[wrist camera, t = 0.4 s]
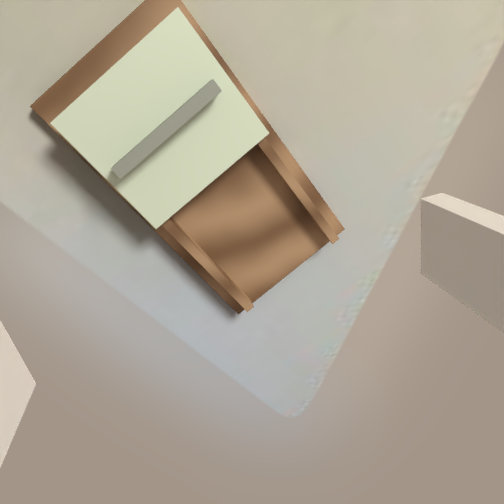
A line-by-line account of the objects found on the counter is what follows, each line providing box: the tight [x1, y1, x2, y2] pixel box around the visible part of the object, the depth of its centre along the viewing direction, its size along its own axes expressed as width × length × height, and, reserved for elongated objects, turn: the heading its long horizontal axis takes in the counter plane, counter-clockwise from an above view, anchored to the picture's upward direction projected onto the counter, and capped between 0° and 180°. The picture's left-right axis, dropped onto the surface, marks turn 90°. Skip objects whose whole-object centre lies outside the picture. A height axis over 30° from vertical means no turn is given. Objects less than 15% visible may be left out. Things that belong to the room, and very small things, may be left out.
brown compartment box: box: [30, 0, 344, 314], centre depth 34 cm, size 26×14×3 cm, turn 38°
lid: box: [50, 7, 269, 229], centre depth 30 cm, size 11×12×2 cm
